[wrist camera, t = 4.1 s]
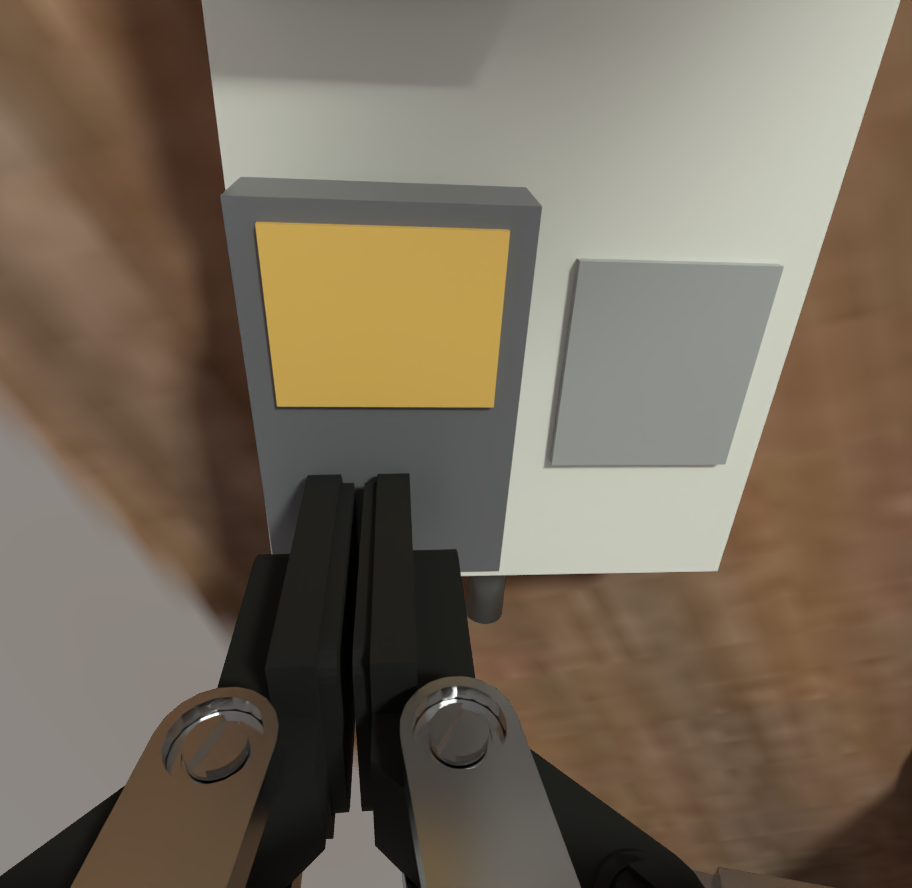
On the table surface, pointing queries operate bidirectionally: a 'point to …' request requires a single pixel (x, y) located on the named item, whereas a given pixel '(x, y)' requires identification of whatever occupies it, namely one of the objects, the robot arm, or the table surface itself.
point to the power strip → (591, 219)
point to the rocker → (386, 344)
